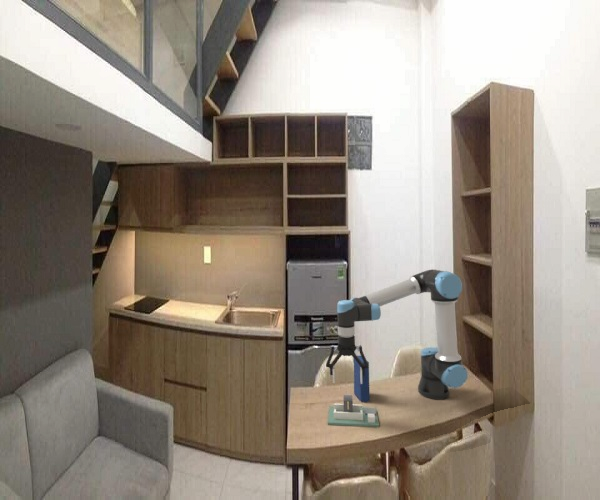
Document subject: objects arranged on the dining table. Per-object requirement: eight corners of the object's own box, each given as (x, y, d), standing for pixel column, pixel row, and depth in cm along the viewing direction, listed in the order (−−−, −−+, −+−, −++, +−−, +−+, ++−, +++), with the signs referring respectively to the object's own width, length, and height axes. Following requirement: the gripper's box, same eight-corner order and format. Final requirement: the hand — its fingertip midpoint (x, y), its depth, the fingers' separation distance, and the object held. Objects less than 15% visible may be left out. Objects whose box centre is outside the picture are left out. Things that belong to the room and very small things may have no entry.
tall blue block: (370, 401, 165) (369, 361, 165) (360, 402, 164) (360, 362, 163) (362, 392, 175) (361, 355, 174) (353, 393, 173) (352, 356, 173)
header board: (376, 410, 157) (375, 401, 157) (379, 427, 143) (378, 418, 143) (329, 408, 160) (329, 400, 160) (327, 424, 146) (327, 415, 146)
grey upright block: (352, 412, 154) (352, 395, 153) (352, 419, 148) (352, 401, 147) (344, 411, 154) (343, 395, 154) (343, 419, 148) (343, 401, 148)
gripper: (372, 332, 152) (373, 379, 153) (320, 332, 155) (321, 377, 156) (374, 337, 145) (375, 386, 146) (319, 337, 148) (320, 385, 149)
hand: (347, 382), depth 151 cm, fingers open, 12 cm apart
